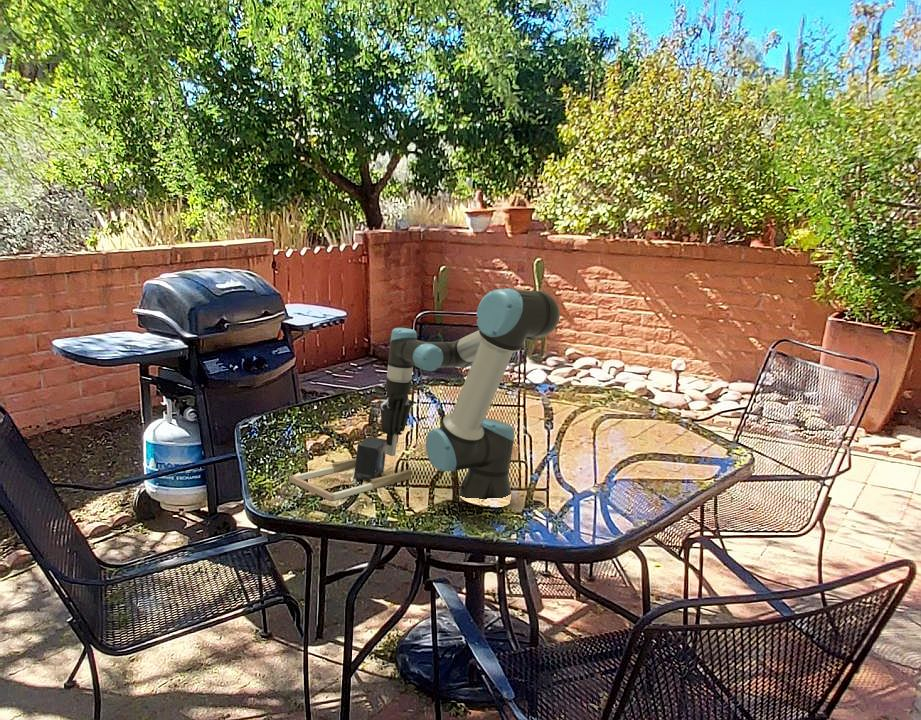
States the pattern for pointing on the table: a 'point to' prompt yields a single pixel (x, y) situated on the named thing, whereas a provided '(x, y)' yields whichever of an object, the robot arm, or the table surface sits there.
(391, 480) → the wooden rail pair
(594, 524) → the table surface
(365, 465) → the small box
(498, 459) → the robot arm
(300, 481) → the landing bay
